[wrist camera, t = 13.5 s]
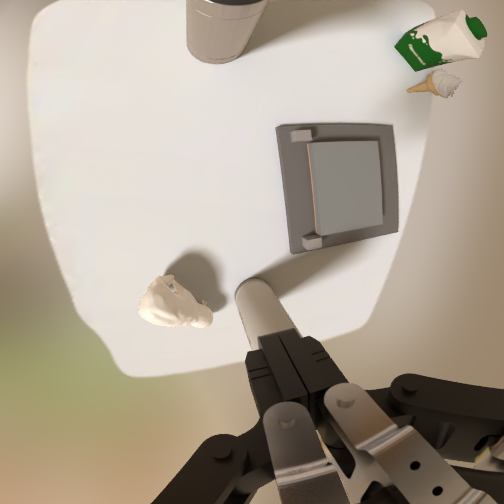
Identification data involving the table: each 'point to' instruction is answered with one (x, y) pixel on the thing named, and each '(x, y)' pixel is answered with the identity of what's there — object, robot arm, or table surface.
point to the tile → (345, 185)
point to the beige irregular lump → (173, 305)
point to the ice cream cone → (438, 84)
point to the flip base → (300, 185)
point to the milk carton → (443, 41)
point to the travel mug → (260, 310)
